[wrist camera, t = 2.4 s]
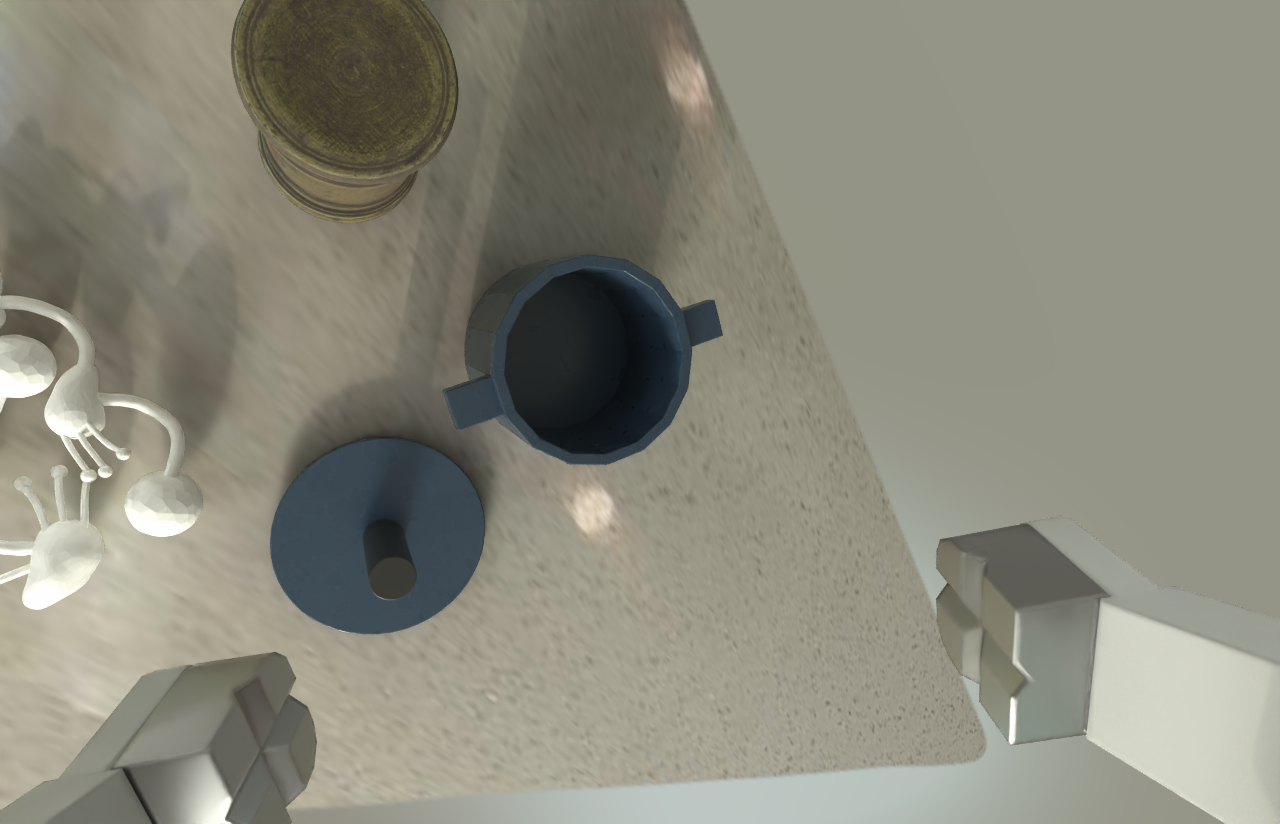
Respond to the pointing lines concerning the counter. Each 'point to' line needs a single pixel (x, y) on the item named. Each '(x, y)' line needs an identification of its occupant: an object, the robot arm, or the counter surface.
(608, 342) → the pot
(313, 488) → the lid
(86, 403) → the tangled rod sculpture
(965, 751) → the counter surface
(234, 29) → the container
